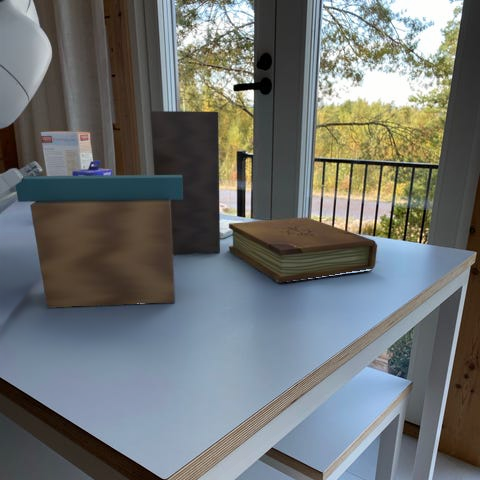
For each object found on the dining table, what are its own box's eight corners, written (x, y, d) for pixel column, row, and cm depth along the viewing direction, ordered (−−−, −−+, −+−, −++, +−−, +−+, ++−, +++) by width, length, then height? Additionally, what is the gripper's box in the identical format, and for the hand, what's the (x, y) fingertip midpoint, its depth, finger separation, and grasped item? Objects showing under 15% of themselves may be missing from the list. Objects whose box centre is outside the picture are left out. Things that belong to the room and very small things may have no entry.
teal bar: (18, 201, 63) (13, 178, 62) (24, 198, 66) (20, 176, 65) (183, 199, 66) (182, 177, 65) (182, 196, 69) (181, 174, 68)
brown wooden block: (47, 308, 67) (29, 204, 61) (59, 289, 74) (45, 195, 69) (174, 303, 69) (169, 202, 64) (174, 285, 77) (170, 193, 71)
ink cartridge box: (92, 220, 124) (85, 162, 118) (76, 218, 126) (68, 161, 120) (116, 214, 132) (111, 159, 126) (101, 212, 134) (95, 158, 128)
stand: (159, 254, 94) (150, 111, 83) (160, 244, 101) (152, 111, 91) (220, 253, 95) (218, 111, 85) (216, 243, 102) (214, 112, 92)
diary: (374, 272, 84) (378, 240, 81) (279, 284, 77) (281, 250, 75) (308, 242, 103) (310, 216, 101) (228, 250, 97) (228, 222, 94)
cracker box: (98, 203, 148) (90, 131, 139) (85, 206, 142) (76, 132, 134) (64, 200, 153) (54, 130, 145) (50, 203, 148) (39, 131, 139)
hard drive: (248, 229, 116) (223, 239, 106) (220, 225, 119) (192, 235, 109) (249, 222, 115) (223, 232, 105) (220, 218, 119) (192, 228, 109)
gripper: (-114, 218, 54) (-16, 153, 53) (-40, 191, 73) (33, 143, 71) (-72, 263, 57) (23, 202, 55) (-12, 226, 75) (60, 181, 74)
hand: (29, 169), depth 64 cm, fingers open, 8 cm apart
